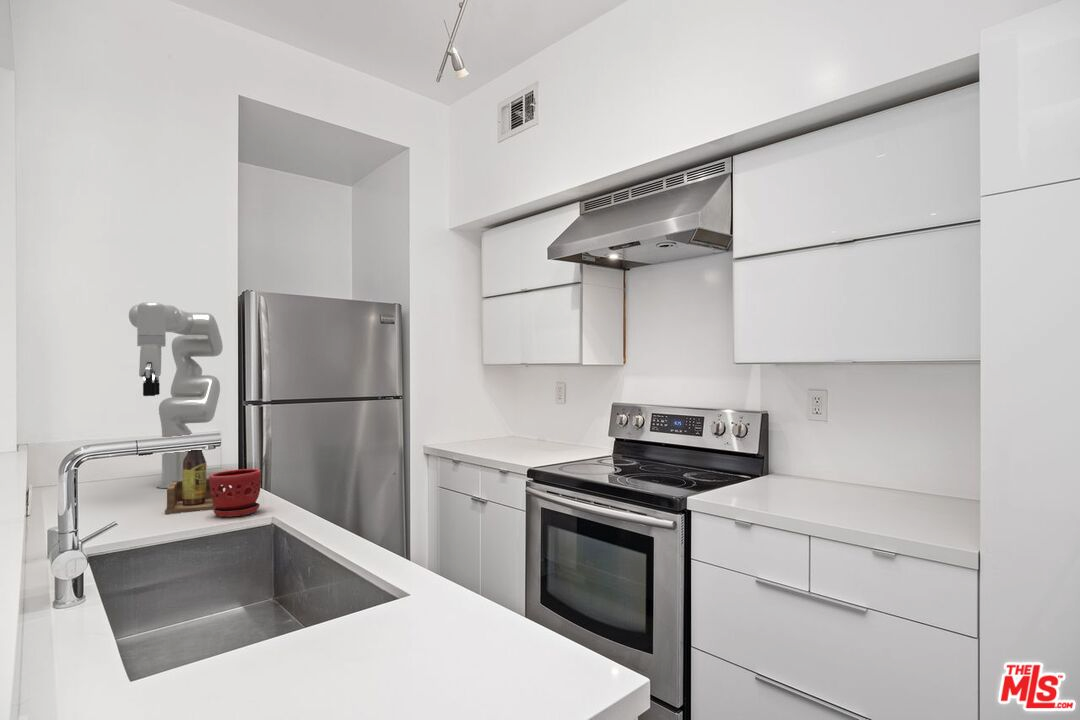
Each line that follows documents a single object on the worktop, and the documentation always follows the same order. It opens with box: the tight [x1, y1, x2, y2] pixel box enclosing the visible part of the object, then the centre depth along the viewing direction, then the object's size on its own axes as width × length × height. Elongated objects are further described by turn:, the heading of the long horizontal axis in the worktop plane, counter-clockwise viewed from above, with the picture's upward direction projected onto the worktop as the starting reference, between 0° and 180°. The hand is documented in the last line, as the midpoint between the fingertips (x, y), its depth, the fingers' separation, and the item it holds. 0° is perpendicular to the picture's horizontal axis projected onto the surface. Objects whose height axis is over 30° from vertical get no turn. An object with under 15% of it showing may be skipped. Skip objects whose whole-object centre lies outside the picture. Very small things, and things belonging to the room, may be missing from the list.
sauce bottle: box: [182, 449, 207, 505], centre depth 176 cm, size 6×6×20 cm
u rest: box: [164, 478, 217, 515], centre depth 176 cm, size 14×14×7 cm
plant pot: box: [209, 468, 262, 518], centre depth 167 cm, size 13×13×12 cm
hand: (151, 395), depth 186 cm, fingers open, 9 cm apart
